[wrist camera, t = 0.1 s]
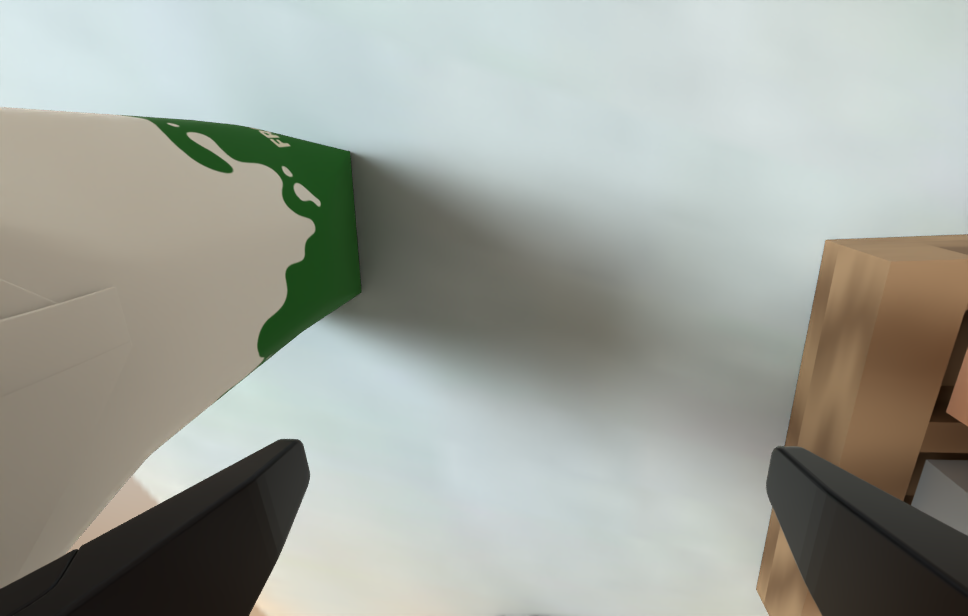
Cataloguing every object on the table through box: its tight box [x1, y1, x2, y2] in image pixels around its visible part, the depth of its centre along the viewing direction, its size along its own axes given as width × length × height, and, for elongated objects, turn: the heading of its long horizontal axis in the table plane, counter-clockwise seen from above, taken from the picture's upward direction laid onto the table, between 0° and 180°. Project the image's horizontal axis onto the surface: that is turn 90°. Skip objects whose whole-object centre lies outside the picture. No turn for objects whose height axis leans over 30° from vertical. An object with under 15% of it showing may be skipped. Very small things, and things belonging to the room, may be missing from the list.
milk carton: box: [0, 107, 361, 589], centre depth 13 cm, size 9×9×20 cm
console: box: [756, 234, 968, 616], centre depth 21 cm, size 22×11×4 cm, turn 4°
